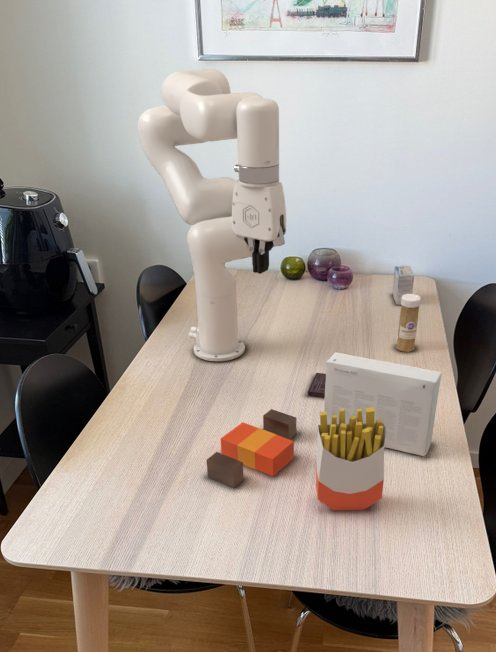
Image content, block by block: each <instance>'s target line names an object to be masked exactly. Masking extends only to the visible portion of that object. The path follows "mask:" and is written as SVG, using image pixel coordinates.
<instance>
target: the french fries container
mask: <svg viewBox="0 0 496 652" xmlns="http://www.w3.org/2000/svg"><path fill="white" fill-rule="evenodd" d="M356 419H357V422H356ZM374 419H375V410H374V407H369V408H366V424H363V419H362V410H361V409H357V418H356V416H351V417H350V420H349V424H345V409H340V411H339V424H337V415H332V423H331V425H327V412H326V411H325V412H324V411H319V424H317V439H316V440H317V445H316V446H317V447H316V470H315V488H316V496H317V500H318V501H319V502H320V503H322V504H323V505H325V506H326V507H327V508H329V509H330V510H332V511H363V510H365V511H366V509H368V508H369V507H372V505H374V504H375V503H377V502H378V501H380V500H381V499H382V498H383V489H384V481H385V478H384V477H385V448H386V447H385V437H386V428H385V425H384V423H382V419H376V424H374Z"/></svg>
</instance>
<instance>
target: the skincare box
mask: <svg viewBox="0 0 496 652" xmlns="http://www.w3.org/2000/svg"><path fill="white" fill-rule="evenodd" d="M325 374H326V384H325V398H323V399H324V400H323V401H324V403H323V404H324V405H323V406H324V408H323V410H324V411H323V412H325V411H326V412H327V425H331V423H332V415H337V424H339V411H340V409H345V424H349V420H350V417H351V416H356V418H357V409H361V410H362V419H363V424H366V408H369V407H374V410H375V419H374V424H376V419H382V423H384V425H385V428H386V437H385V447H384V448H385V449H386V448H387V449H391V450H395V451H399V452H404V453H407V454H412V455H416V456H421V457H425V456H426V455H427V453H428V452H429V451H430V448H431V446H432V440H433V433H434V426H435V420H436V413H437V407H438V406H437V405H438V399H439V393H440V387H441V380H442V379H441V378H442V371H438V370H432V369H426V368H420V367H416V366H411V365H406V364H400V363H395V362H391V361H390V362H389V361H384V360H379V359H372V358H368V357H363V356H357V355H351V354H348V353H347V354H346V353H341V352H337V351H336V352H334V353H333V354H332V355H331V356H330V357H329V358H328V359H327V360H326V362H325ZM356 422H357V419H356Z"/></svg>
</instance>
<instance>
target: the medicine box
mask: <svg viewBox="0 0 496 652" xmlns="http://www.w3.org/2000/svg"><path fill="white" fill-rule="evenodd" d="M414 281H415V274H414V273H413V270H412V268H411V266H410V265H396V266H395V267H394V272H393V281H392V283H393V284H392V297H393V299H394V303H395V305H397V306H401V297H402V296H403V295H405V294H414V293H413V292H414V290H413V289H414Z"/></svg>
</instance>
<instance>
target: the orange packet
mask: <svg viewBox="0 0 496 652" xmlns="http://www.w3.org/2000/svg"><path fill="white" fill-rule="evenodd" d="M220 451H221V452H220V453H221V454H223V455H226V456H228V457H231V458H234V459H236V460H239V461H241V462H243V466H244V467H248V468H250V469H251V470H252V469H253V470H255V471H258V472H260V473H262V474H265V475H268V476H270V477H274V476H276V475H277V474H278V473H279V472H280V471H281V470H282V469H284V467H286V466H287V465H288V464H290V463H291V461H293V460H294V458H295V441H294V440H292V439H290V440H289V439H287V438H284V437H281V436H279V435H276V434H274V433H271V432H268V431H266V430H263V429H262V428H260V427H257V426H254V425H252V424H249V423H246V422H243V421H242V422H241V423H239V424H238V425H237V426H236V427H234V428H233V429H231V430H230V431H229V432H227V433H226V434H224V435H223V436H222V437H221V438H220Z"/></svg>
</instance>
